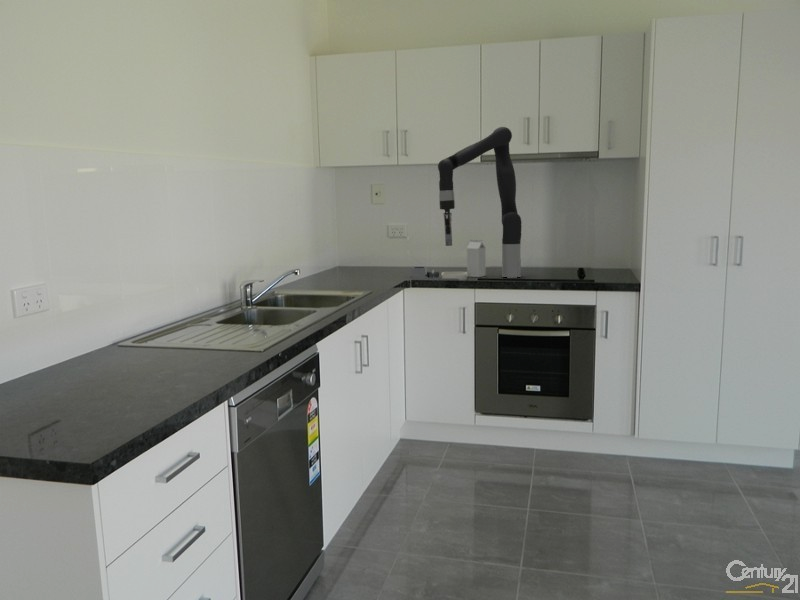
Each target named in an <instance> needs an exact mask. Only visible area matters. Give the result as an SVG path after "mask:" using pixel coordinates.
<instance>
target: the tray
mask: <svg viewBox="0 0 800 600" xmlns="http://www.w3.org/2000/svg"><path fill="white" fill-rule="evenodd" d="M440 279H456V281H460V282H461V281H463V282H464V281H467V280H468V277H467V271H442V272H441V274H440Z"/></svg>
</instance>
